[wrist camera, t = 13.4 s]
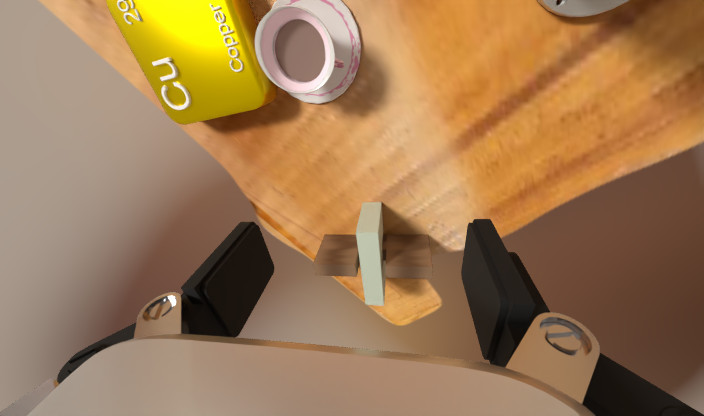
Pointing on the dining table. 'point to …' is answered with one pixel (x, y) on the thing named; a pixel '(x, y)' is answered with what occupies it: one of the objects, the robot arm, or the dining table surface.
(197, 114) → the element tile
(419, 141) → the dining table surface
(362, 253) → the sage cross-piece
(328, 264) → the walnut upright plate
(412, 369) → the robot arm
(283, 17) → the teacup
